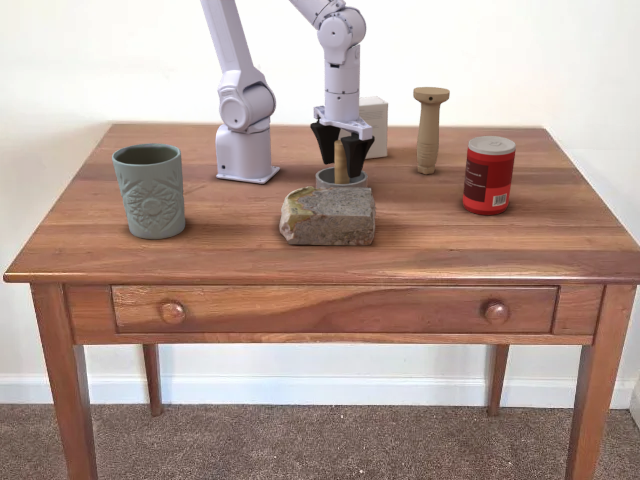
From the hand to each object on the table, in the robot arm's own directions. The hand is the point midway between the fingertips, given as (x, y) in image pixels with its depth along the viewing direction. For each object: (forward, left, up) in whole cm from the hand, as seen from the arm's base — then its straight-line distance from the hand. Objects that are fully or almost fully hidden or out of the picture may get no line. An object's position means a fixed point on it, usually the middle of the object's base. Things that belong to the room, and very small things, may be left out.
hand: (341, 169), depth 128 cm
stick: (0, 0, -4) cm, 4 cm away
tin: (0, 0, -4) cm, 4 cm away
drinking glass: (-23, -24, -4) cm, 33 cm away
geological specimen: (+3, -16, -4) cm, 17 cm away
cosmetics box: (-3, +19, -4) cm, 20 cm away
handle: (+12, +14, -4) cm, 19 cm away
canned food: (+25, +1, -4) cm, 25 cm away
